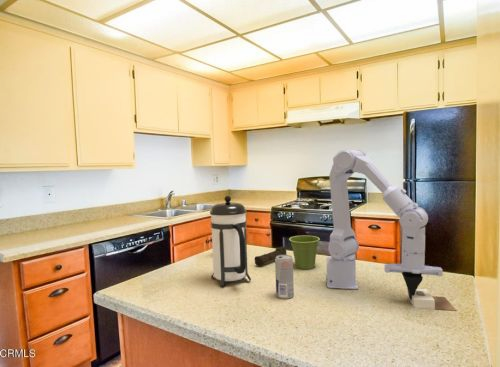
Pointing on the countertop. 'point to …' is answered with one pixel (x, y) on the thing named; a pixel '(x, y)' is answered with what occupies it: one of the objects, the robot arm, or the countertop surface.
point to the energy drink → (284, 276)
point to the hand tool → (269, 256)
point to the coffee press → (229, 242)
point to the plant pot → (304, 250)
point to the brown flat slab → (443, 304)
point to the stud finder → (422, 299)
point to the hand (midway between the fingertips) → (411, 298)
